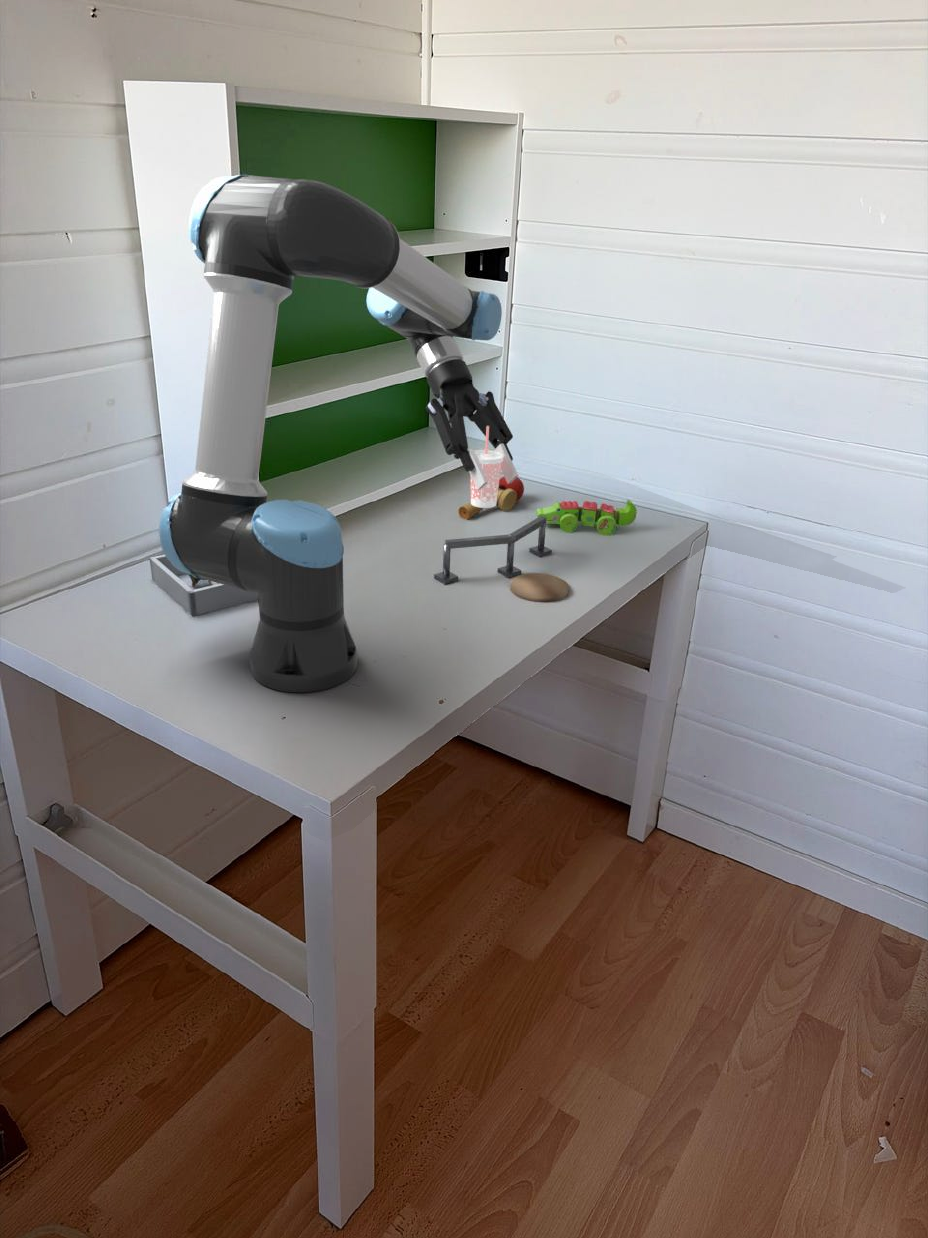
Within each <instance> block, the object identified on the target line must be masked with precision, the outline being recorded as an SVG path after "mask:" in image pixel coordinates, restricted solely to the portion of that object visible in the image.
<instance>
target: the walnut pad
mask: <svg viewBox="0 0 928 1238" xmlns="http://www.w3.org/2000/svg"><path fill="white" fill-rule="evenodd" d="M569 586H570V585H569V583H568V582H567V581H566V580H564V579H563V578H562V577H558V576H556V575H553V574H547V573H540V572H539V573H538V572H536V573H535V572H531V573H524V574H521V575H517V576H514V577H512V579H511V581H510V586H509V590H510V591H511V593H512V594H513V595H514V596H516V597H518V598H520V599H522V600H525V601H526V600H527V601H530V602H537V603H550V602H557V601H560V600H562V599H565V597H567V596H568V594H569V590H570V587H569Z"/></svg>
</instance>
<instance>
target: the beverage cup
mask: <svg viewBox="0 0 928 1238" xmlns="http://www.w3.org/2000/svg"><path fill="white" fill-rule="evenodd" d="M488 439H489V426H486V436H485V447H484V448H485V449H476V450H475V449H474V452H475V454H476V456H477V458H478V460H479V462H480V465H481V467H482V469H483V471H484V473H485V475H486V477H487V480H488V483H487V484H486V485H485V486H484V487H483V488H482V489H480V490H477V488H476V486H475V483H474V481H473V479H472V477H471V475H470V474H469V475H470V477H469V478H470V503H471V504H472V505H473V506H475V507H480V508H484V509H488V508H489V509H490V508H495V507H496V506H497V504H498V503H497V495H498V486H499V480H500V479H501V478H500V477H501V462H502V461H503V457H504V455H503V454H502V453H500V452H497V451H494V450H491V449H489V440H488Z"/></svg>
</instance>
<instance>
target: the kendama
mask: <svg viewBox="0 0 928 1238" xmlns="http://www.w3.org/2000/svg"><path fill="white" fill-rule="evenodd" d="M524 491H525V486H524V483H523V481H522V480H521V479H520V478H519V476H518V477H517V478H516V479H515V480H514V481H512V482H511V483H509V484H507V481H506V479H505V477H504V476H502V477H501V478H499V486H498V495H497V503H496V504H497V505H498V508H499V509H500V510H501V511H503V512H507V511H510V510H512V509H513V507H514V506H515V505H516V503H517V502H518V501H520V500H521V498H522V497H523V496H524ZM484 509H485V508H480V507H475V506H473V505H472V504H471V502H469V503H466V504H464V505H461V506H459V508H458V515H459V518H461V519H462V518H463V520H465V519H466V521H468V520H469V519H471V518H472V517H474V516H475V515H477V514H478V513H480V512H481V511H483V510H484Z"/></svg>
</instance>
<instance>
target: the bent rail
mask: <svg viewBox="0 0 928 1238" xmlns="http://www.w3.org/2000/svg"><path fill="white" fill-rule="evenodd" d="M546 519H547V517H544V516H540V517H538V516H537V518H535V519H533V520H532V521H530V522H528V523H526V524H525V525H522V526H521V527H519V528H518V529H516V530H514V531H513V532H511V533H509V534H500V535H486V536H475V537H465V538H453V539H452V538H451V539H445V542H444V543H443V553H442V554H443V555H442V556H443V559H442V560H443V561H442V572H441V571H440V572H438V573H434V574H433V578H434V580H436V581H437V582H439V583H441V584H443V585H448V584H451V583H454V582H458V581H459V576H458V575H456V574H455V573H454V572H452V571H451V552H452V551H451V549H461V548H462V549H463V548H474V547H475V548H476V547H484V546H485V547H487V546H495V545H496V546H497V545H507V547H506V548H507V550H506V551H507V552H506V565H504V566H501V567H497V573H498V574H500V575H502V576H504V577H505V578H508V579H511V578H515V577H517V576H519V575H522V569H520V568H519V567H516V566H514V562H515V561H514V559H515V543H516V542H518V541H520V540H521V539H523V538H525V537H526V536H527V535H530V534H531V533H533V532H534V531H537V530H538V539H537V540H538V541H537V545H536V546H532V547H530V548H528V549H529V551H528V552H529V553H530V554H533V556H534V555H535V556H536V557H538V558H542V557H546V556H549V555H552V554H553V549H551V548H549V547H547V546H545V540H546V529H547V528H546V527H547V523H546Z"/></svg>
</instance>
